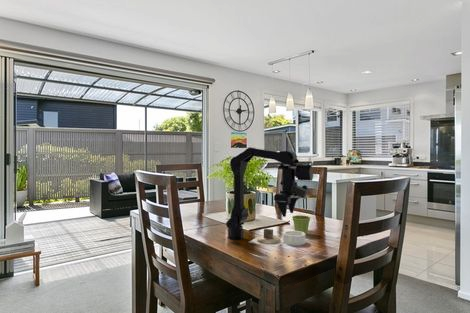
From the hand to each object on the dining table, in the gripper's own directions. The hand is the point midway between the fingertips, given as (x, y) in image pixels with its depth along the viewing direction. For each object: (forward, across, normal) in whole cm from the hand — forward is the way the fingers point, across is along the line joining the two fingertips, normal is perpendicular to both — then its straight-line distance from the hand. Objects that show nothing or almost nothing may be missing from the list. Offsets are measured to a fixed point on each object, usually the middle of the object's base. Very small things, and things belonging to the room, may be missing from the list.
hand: (288, 214), depth 134 cm
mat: (+14, +3, +10) cm, 18 cm away
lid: (+14, +3, +10) cm, 17 cm away
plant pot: (+14, +24, +2) cm, 28 cm away
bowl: (+14, +7, -1) cm, 16 cm away
